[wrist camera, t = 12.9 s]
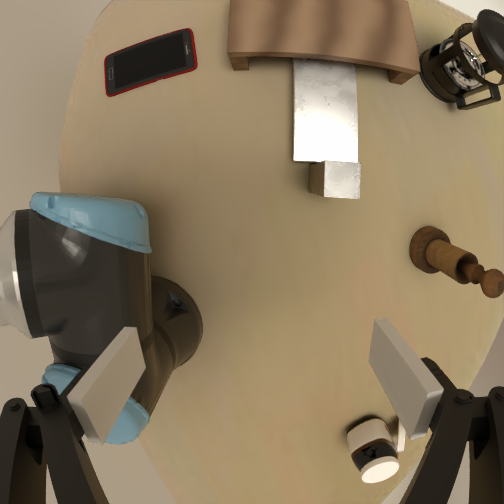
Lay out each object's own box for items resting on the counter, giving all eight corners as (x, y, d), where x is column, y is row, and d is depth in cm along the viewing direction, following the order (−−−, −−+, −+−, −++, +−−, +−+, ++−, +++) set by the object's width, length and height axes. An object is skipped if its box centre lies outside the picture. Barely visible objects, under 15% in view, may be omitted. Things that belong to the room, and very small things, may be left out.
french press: (409, 43, 32) (489, -28, 10) (455, 49, 31) (540, -1, 9) (428, 112, 35) (534, 75, 13) (473, 115, 34) (576, 93, 12)
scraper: (291, 191, 39) (300, 195, 28) (292, 59, 35) (299, 17, 23) (350, 194, 39) (380, 200, 27) (349, 64, 34) (374, 27, 23)
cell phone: (106, 58, 36) (103, 56, 35) (193, 29, 35) (191, 26, 34) (108, 99, 38) (105, 97, 37) (199, 70, 36) (197, 68, 35)
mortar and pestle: (403, 238, 40) (474, 275, 22) (436, 219, 38) (515, 244, 21) (416, 277, 41) (483, 328, 23) (448, 257, 40) (522, 297, 22)
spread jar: (338, 427, 48) (348, 473, 37) (390, 397, 46) (410, 440, 35) (365, 452, 50) (376, 492, 39) (411, 425, 48) (429, 463, 36)
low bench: (234, 70, 36) (227, 52, 29) (236, 5, 33) (231, -18, 27) (401, 84, 34) (420, 71, 28) (393, 19, 32) (407, 1, 25)
